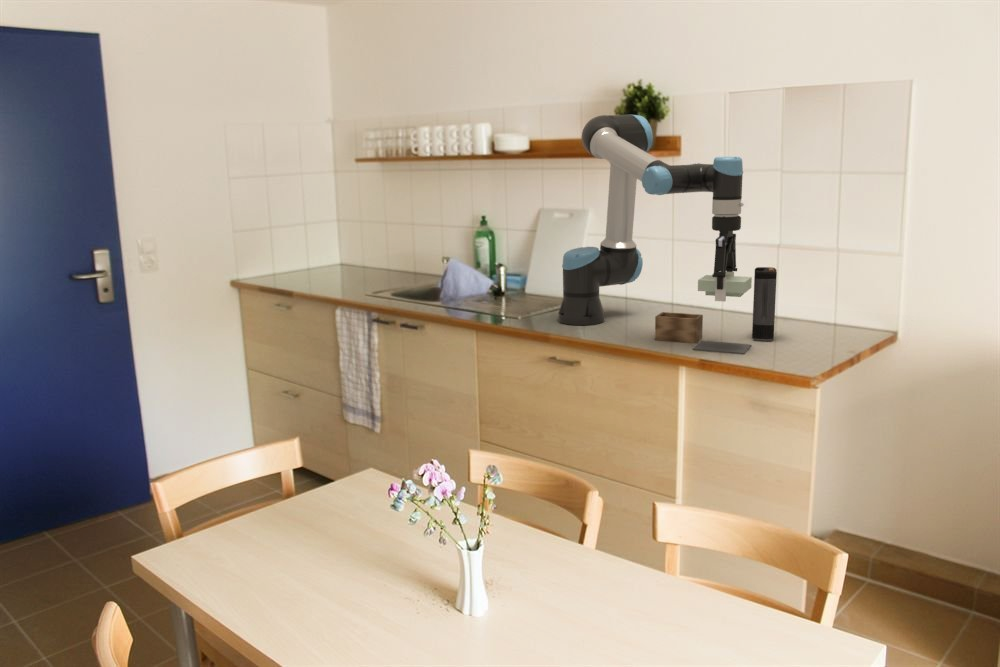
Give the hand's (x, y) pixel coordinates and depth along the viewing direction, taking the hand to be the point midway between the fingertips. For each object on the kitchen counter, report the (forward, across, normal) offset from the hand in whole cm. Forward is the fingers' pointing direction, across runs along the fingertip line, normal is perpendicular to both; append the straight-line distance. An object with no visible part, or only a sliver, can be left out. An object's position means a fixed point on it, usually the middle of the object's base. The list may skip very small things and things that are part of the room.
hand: (724, 297), depth 231 cm
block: (-2, 0, 0) cm, 2 cm away
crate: (+14, +6, +14) cm, 21 cm away
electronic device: (+14, +16, -8) cm, 23 cm away
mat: (+14, 0, 0) cm, 14 cm away
